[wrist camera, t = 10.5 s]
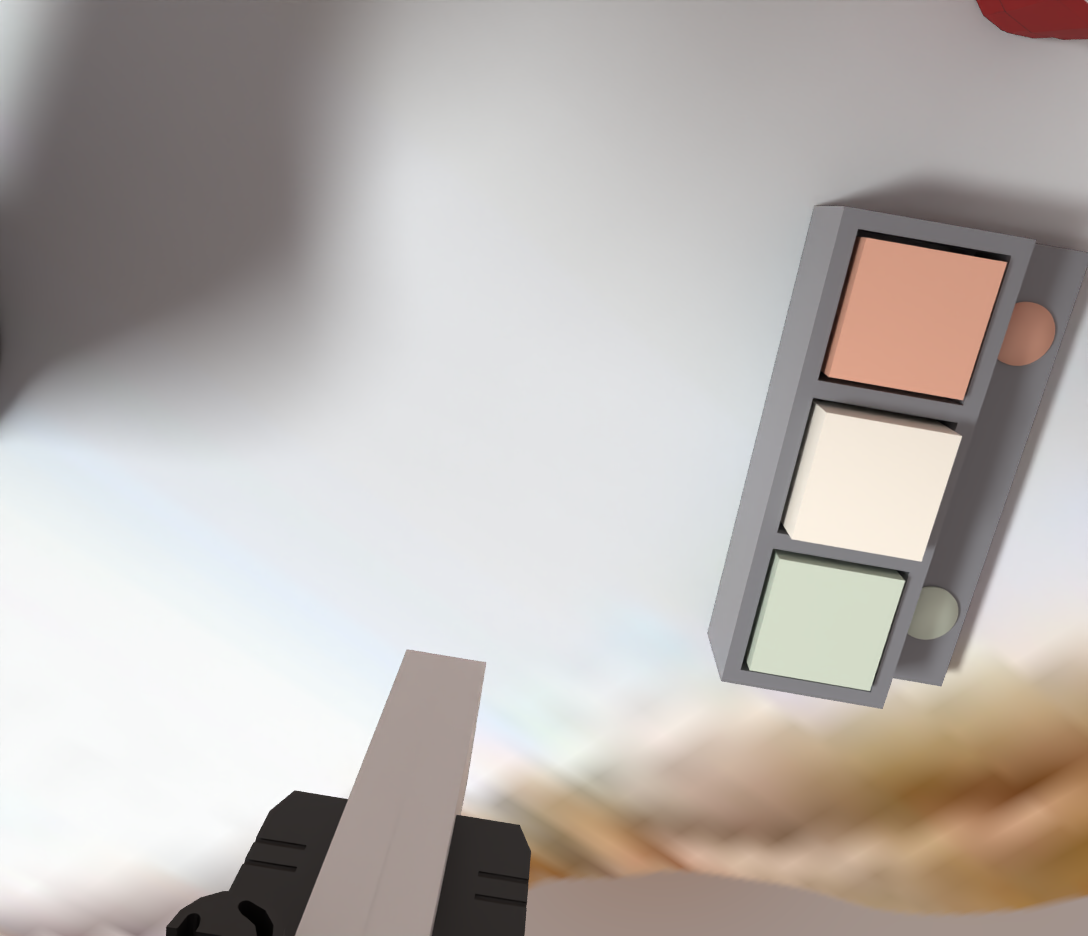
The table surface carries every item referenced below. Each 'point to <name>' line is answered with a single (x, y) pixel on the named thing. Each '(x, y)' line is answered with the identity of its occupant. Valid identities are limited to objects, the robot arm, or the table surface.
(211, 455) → the table surface
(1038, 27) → the plastic cup
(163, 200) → the table surface
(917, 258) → the terracotta key
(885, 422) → the cream key
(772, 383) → the keypad
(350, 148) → the table surface
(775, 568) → the sage key
